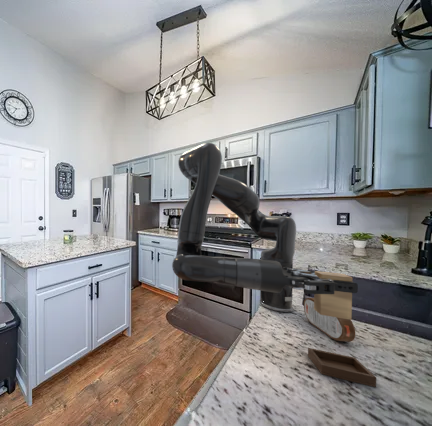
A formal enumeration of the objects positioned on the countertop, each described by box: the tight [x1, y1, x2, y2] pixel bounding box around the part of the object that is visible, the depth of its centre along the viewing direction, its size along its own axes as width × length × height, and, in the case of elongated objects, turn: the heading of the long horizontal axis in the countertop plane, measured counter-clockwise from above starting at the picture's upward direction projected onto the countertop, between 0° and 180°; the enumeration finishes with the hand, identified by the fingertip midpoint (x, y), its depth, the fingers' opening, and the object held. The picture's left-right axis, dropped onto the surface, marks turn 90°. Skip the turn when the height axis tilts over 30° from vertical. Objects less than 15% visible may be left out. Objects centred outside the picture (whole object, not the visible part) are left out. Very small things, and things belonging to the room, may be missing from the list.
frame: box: [307, 347, 377, 388], centre depth 45 cm, size 6×8×2 cm
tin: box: [303, 297, 356, 343], centre depth 60 cm, size 15×3×8 cm, turn 168°
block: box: [313, 270, 353, 321], centre depth 46 cm, size 3×5×9 cm, turn 66°
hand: (350, 284), depth 45 cm, fingers closed on block, 3 cm apart
